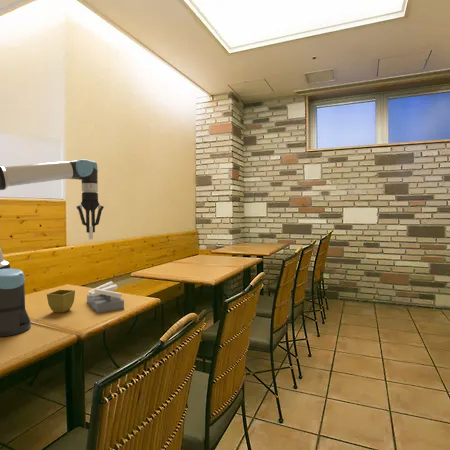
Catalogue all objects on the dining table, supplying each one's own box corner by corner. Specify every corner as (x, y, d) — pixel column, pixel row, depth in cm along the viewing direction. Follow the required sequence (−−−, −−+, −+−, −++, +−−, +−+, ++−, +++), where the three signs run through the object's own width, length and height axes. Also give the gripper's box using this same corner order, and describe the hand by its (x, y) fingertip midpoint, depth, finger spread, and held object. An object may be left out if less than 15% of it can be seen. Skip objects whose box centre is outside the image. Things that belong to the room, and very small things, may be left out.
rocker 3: (95, 293, 153) (96, 289, 153) (94, 291, 156) (95, 288, 156) (120, 297, 159) (121, 294, 160) (118, 296, 162) (119, 292, 162)
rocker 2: (93, 296, 158) (92, 293, 158) (91, 295, 161) (90, 292, 161) (118, 288, 165) (117, 285, 165) (116, 287, 168) (115, 284, 168)
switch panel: (97, 313, 151) (97, 300, 151) (87, 302, 169) (86, 290, 169) (124, 308, 158) (123, 296, 157) (111, 299, 176) (110, 287, 175)
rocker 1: (90, 295, 164) (89, 292, 164) (89, 293, 167) (88, 291, 166) (114, 284, 170) (113, 282, 170) (112, 283, 173) (111, 281, 173)
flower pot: (63, 314, 149) (63, 294, 149) (46, 313, 151) (46, 293, 150) (76, 309, 158) (75, 290, 157) (59, 308, 159) (59, 289, 159)
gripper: (77, 191, 160) (78, 240, 161) (105, 192, 167) (106, 239, 168) (74, 192, 166) (75, 239, 167) (101, 193, 173) (102, 238, 174)
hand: (90, 239), depth 167 cm, fingers closed
